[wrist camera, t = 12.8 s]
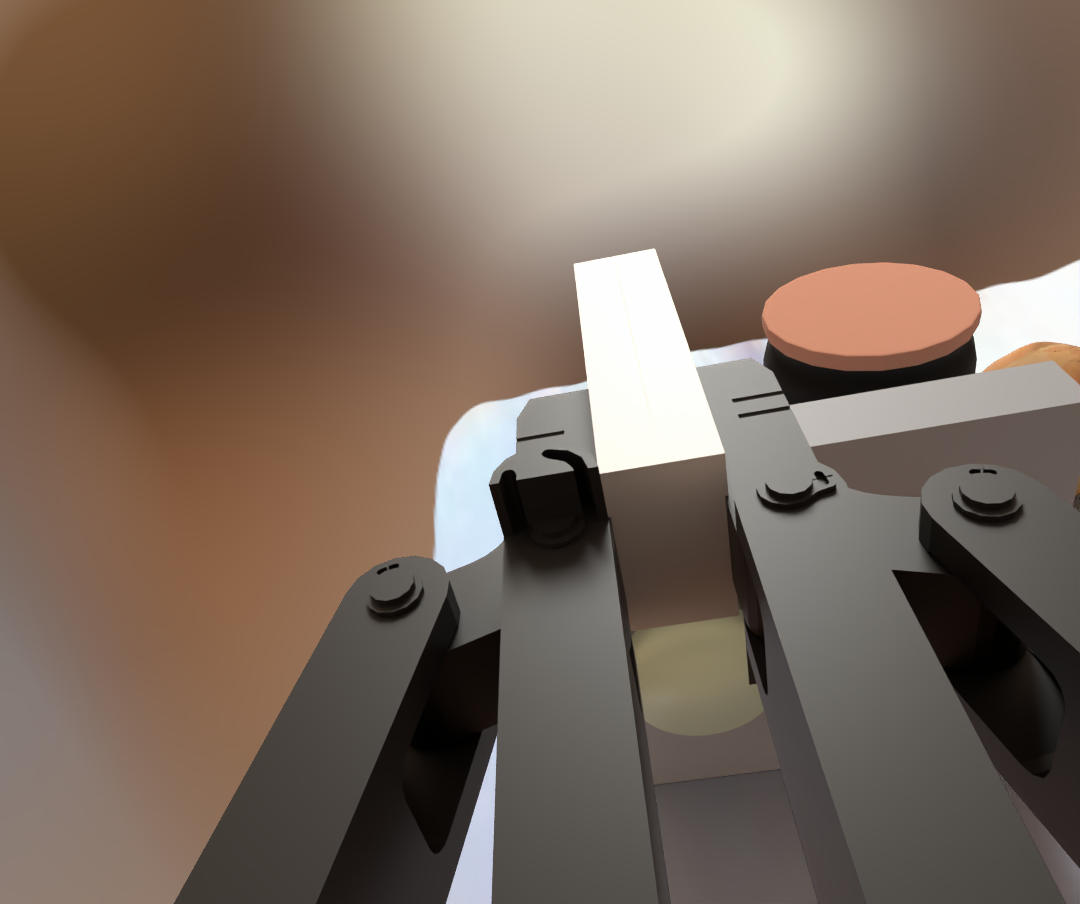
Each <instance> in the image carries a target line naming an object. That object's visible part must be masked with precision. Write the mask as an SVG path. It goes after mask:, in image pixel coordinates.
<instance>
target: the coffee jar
mask: <svg viewBox="0 0 1080 904" xmlns="http://www.w3.org/2000/svg"><path fill="white" fill-rule="evenodd" d="M981 313H982V311H981V304H980V298H979V295H978V294H977V293H976V292H975V291H974V290H973V289H972V288H971V287H970V286H969V285H968V284H967V283H966V282H965V281H963V280H961V279H959V278H957V277H955V276H952V275H950V274H948V273H946V272H944V271H940V270H936V269H931V268H927V267H923V266H918V265H910V264H898V263H865V264H851V265H846V266H840V267H834V268H828V269H824V270H820V271H817V272H814V273H811V274H808V275H805V276H802V277H799V278H797V279H795V280H793V281H791V282H790V283H788V284H786V285H784V286H782V287H780V288H779V289H778V290H777V291H776V292H775V293H774V294H773V295H772V296H771V297H770V298H769V299H768V300H767V301H766V303H765V307H764V310H763V314H762V323H763V329H764V331H765V333H766V336H767V338H768V342H767V346H766V351H765V355H764V360H763V361H764V366H765V367H766V368H768V369H769V370H771V371H772V372H773V373H774V375H775V377H776V379H777V381H778V383H779V385H780V387H781V389H782V393H783V394H784V395H785V397H786V399H787V401H788V403H789V405H794V404H799V403H805V402H811V401H817V400H823V399H829V398H835V397H841V396H846V395H852V394H858V393H864V392H870V391H876V390H882V389H888V388H894V387H899V386H905V385H911V384H917V383H923V382H929V381H935V380H941V379H946V378H952V377H958V376H964V375H970V374H975V369H976V361H977V357H976V350H975V343H974V337H973V333H974V332H975V330H976V328H977V327H978V325H979V322H980V318H981Z"/></svg>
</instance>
